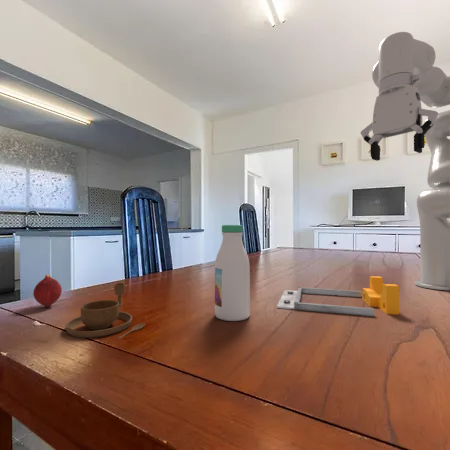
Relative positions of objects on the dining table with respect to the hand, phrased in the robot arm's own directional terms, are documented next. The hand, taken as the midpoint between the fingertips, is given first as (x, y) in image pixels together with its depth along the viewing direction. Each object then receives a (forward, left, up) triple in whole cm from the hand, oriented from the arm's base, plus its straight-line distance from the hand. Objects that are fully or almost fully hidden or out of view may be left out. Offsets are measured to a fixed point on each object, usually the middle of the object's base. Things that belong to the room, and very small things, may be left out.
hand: (395, 156), depth 70 cm
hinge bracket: (+3, -18, -37) cm, 41 cm away
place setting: (+31, -59, -38) cm, 77 cm away
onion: (+28, -82, -37) cm, 94 cm away
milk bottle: (+21, -37, -37) cm, 56 cm away
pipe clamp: (+3, -4, -38) cm, 38 cm away
